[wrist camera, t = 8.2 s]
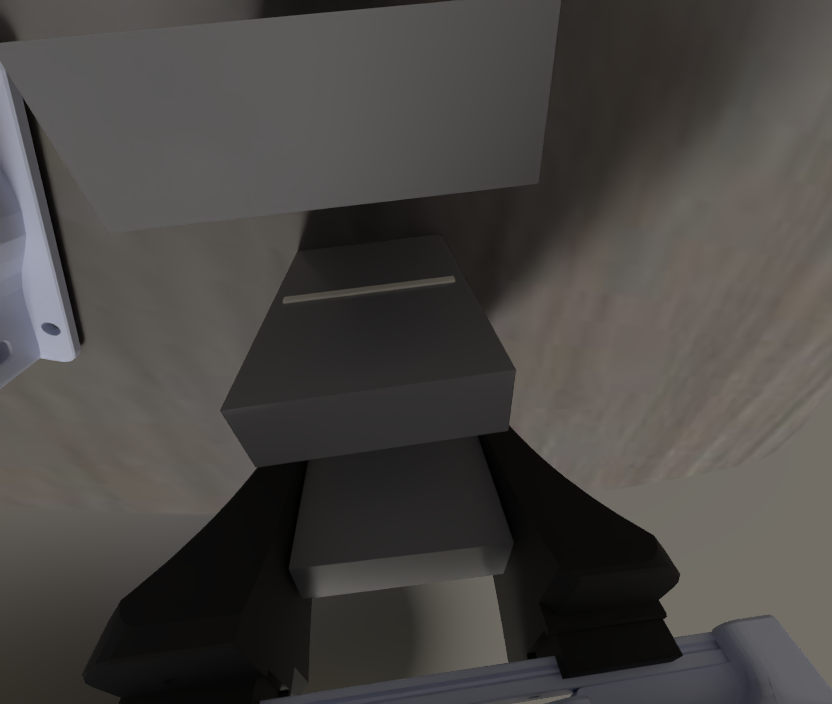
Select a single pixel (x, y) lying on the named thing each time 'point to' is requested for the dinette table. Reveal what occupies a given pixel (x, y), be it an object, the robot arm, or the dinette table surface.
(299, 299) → the domino
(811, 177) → the dinette table surface
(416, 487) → the domino
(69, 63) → the domino
